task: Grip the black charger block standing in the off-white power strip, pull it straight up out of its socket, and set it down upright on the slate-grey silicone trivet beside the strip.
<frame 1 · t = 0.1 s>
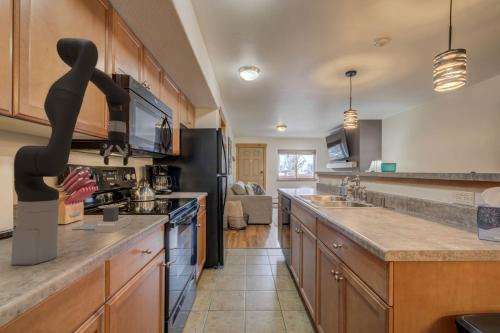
hand: (115, 165, 116), 29 cm above the worktop, tool pointing down, fingers open, 8 cm apart
trivet: (90, 227, 111), on the worktop
charger: (110, 222, 108), point 3 cm above the worktop, touching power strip
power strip: (114, 227, 111), on the worktop
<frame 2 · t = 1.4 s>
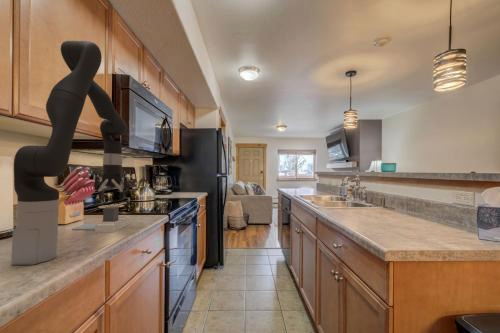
hand: (111, 200, 108), 13 cm above the worktop, tool pointing down, fingers open, 8 cm apart
nothing on the worktop moved.
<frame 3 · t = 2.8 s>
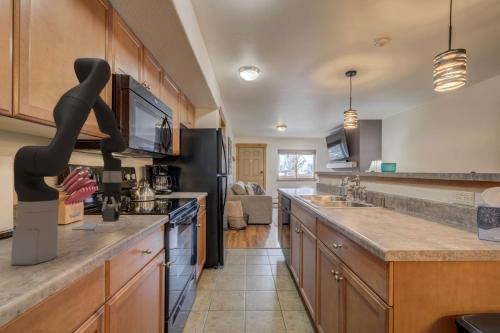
hand: (110, 219, 108), 5 cm above the worktop, tool pointing down, fingers closed on charger, 4 cm apart
charger: (110, 222, 108), point 3 cm above the worktop, touching gripper, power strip
everything else where it was.
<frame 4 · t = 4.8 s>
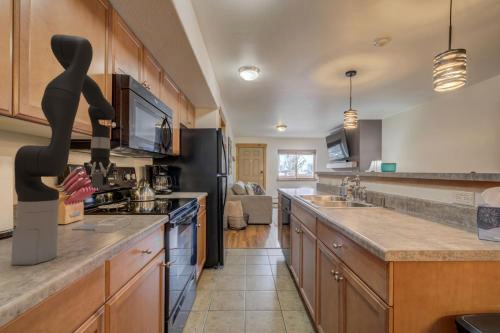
hand: (99, 184, 111), 20 cm above the worktop, tool pointing down, fingers closed on charger, 4 cm apart
charger: (99, 187, 111), point 18 cm above the worktop, touching gripper
everything else where it was.
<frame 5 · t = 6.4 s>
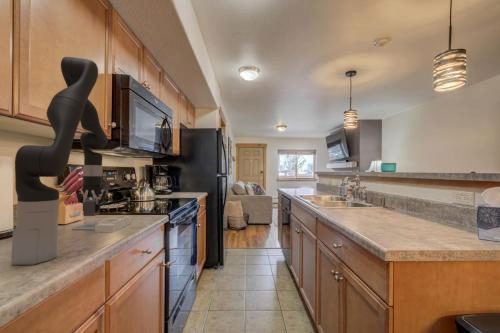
hand: (91, 212, 111), 7 cm above the worktop, tool pointing down, fingers closed on charger, 4 cm apart
charger: (91, 215, 111), point 6 cm above the worktop, touching gripper
everything else where it was.
when the fingers open (4 cm above the worktop, at t = 7.2 s): charger drops 2 cm, resting on trivet.
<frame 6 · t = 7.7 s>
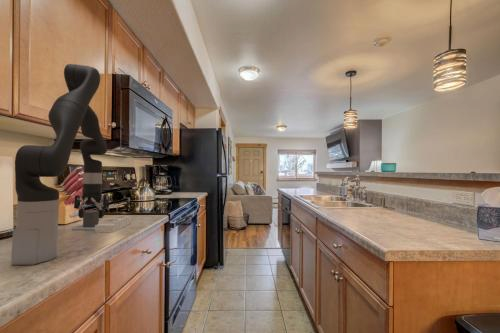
hand: (91, 217, 111), 4 cm above the worktop, tool pointing down, fingers open, 8 cm apart
charger: (90, 226, 111), point 1 cm above the worktop, touching trivet
everything else where it was.
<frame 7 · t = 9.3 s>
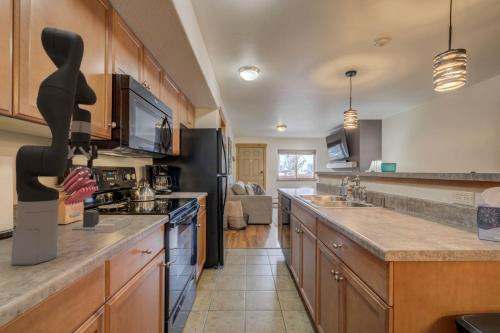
hand: (79, 168, 109), 27 cm above the worktop, tool pointing down, fingers open, 8 cm apart
nothing on the worktop moved.
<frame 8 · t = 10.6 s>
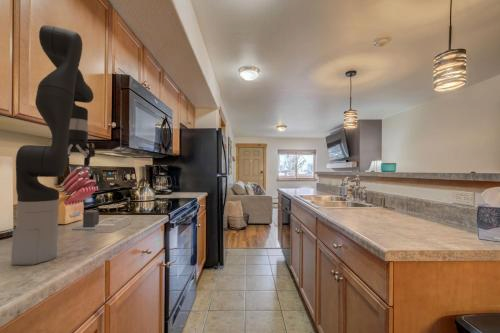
hand: (76, 166, 108), 28 cm above the worktop, tool pointing down, fingers open, 8 cm apart
nothing on the worktop moved.
at the end: charger inside the target area on the trivet (0.0 cm from its centre), point 0.6 cm above the trivet's base; charger tilted 0°; charger touching trivet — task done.
